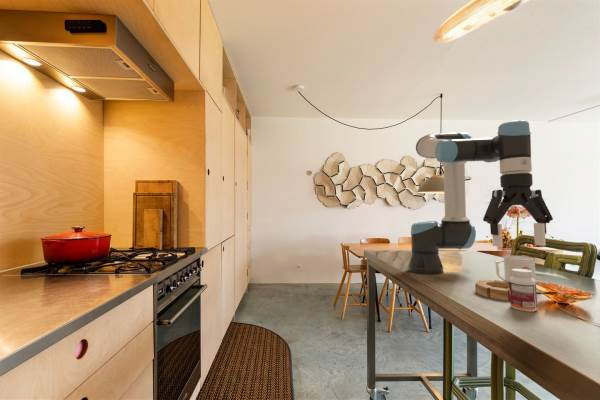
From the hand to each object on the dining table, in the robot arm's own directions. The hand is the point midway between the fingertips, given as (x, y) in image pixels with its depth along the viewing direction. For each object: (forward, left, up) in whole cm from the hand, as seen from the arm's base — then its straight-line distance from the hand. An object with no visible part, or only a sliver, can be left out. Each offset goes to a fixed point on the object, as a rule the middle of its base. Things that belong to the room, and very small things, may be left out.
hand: (519, 246), depth 82 cm
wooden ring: (-13, +5, -18) cm, 23 cm away
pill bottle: (0, 0, -18) cm, 18 cm away
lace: (-12, +19, -18) cm, 28 cm away
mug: (-19, +16, -18) cm, 31 cm away
